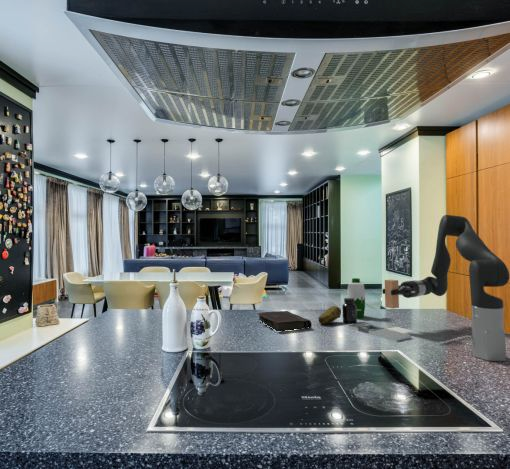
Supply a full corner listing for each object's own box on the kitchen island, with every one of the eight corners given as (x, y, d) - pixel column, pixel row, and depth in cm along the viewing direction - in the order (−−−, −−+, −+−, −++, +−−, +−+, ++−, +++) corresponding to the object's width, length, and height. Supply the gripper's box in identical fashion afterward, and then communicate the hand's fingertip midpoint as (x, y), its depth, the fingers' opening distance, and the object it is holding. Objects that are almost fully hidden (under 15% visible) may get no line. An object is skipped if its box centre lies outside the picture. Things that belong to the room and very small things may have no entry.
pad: (414, 332, 154) (414, 330, 154) (400, 335, 150) (400, 333, 150) (396, 328, 162) (396, 326, 162) (383, 331, 158) (383, 329, 158)
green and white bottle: (365, 315, 191) (364, 278, 192) (365, 319, 182) (364, 280, 183) (348, 314, 194) (347, 278, 194) (347, 318, 185) (346, 279, 185)
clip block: (398, 307, 155) (398, 280, 156) (392, 308, 153) (392, 280, 154) (391, 306, 159) (390, 279, 159) (385, 307, 157) (384, 280, 157)
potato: (313, 322, 177) (313, 306, 177) (337, 320, 180) (337, 304, 180) (321, 326, 169) (320, 309, 169) (345, 324, 172) (345, 307, 172)
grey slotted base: (411, 340, 143) (411, 334, 143) (396, 343, 139) (396, 338, 139) (362, 327, 166) (362, 322, 166) (348, 329, 161) (348, 325, 161)
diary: (288, 319, 188) (288, 310, 188) (311, 330, 164) (311, 319, 164) (255, 322, 181) (255, 312, 181) (274, 333, 158) (274, 322, 158)
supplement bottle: (355, 321, 178) (355, 297, 178) (358, 324, 171) (357, 299, 171) (341, 321, 178) (341, 297, 179) (343, 324, 172) (343, 299, 172)
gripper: (399, 279, 170) (374, 281, 161) (426, 282, 157) (400, 285, 149) (400, 295, 169) (374, 298, 161) (427, 299, 157) (401, 302, 149)
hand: (387, 292), depth 155 cm, fingers closed on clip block, 4 cm apart
